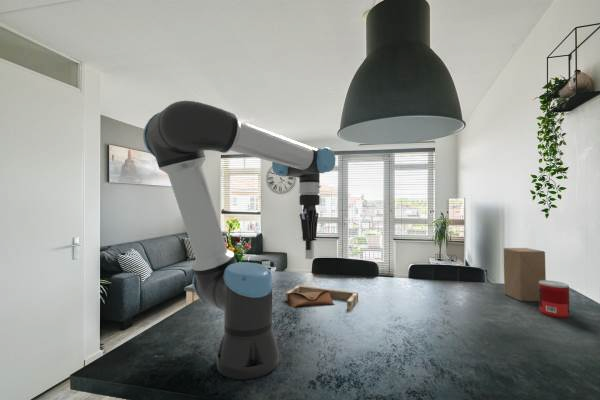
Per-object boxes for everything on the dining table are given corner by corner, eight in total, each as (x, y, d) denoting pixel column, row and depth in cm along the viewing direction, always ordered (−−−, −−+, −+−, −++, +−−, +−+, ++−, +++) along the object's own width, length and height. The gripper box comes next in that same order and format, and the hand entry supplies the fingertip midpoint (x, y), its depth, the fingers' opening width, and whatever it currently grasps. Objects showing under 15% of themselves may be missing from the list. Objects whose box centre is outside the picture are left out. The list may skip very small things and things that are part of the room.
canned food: (575, 319, 96) (574, 286, 96) (548, 317, 97) (547, 285, 98) (559, 311, 103) (559, 280, 104) (534, 309, 105) (534, 279, 105)
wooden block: (546, 301, 113) (545, 251, 114) (521, 301, 114) (520, 251, 114) (527, 294, 123) (526, 247, 124) (503, 294, 124) (502, 247, 124)
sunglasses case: (290, 308, 107) (289, 290, 111) (288, 312, 113) (286, 295, 116) (336, 304, 111) (333, 287, 115) (331, 308, 117) (328, 292, 120)
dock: (350, 309, 105) (350, 301, 106) (285, 300, 117) (285, 292, 117) (358, 300, 116) (358, 292, 116) (297, 292, 127) (297, 285, 128)
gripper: (312, 193, 98) (312, 262, 98) (325, 195, 110) (325, 256, 110) (292, 194, 101) (292, 260, 101) (307, 195, 113) (307, 255, 113)
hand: (309, 258), depth 105 cm, fingers closed
